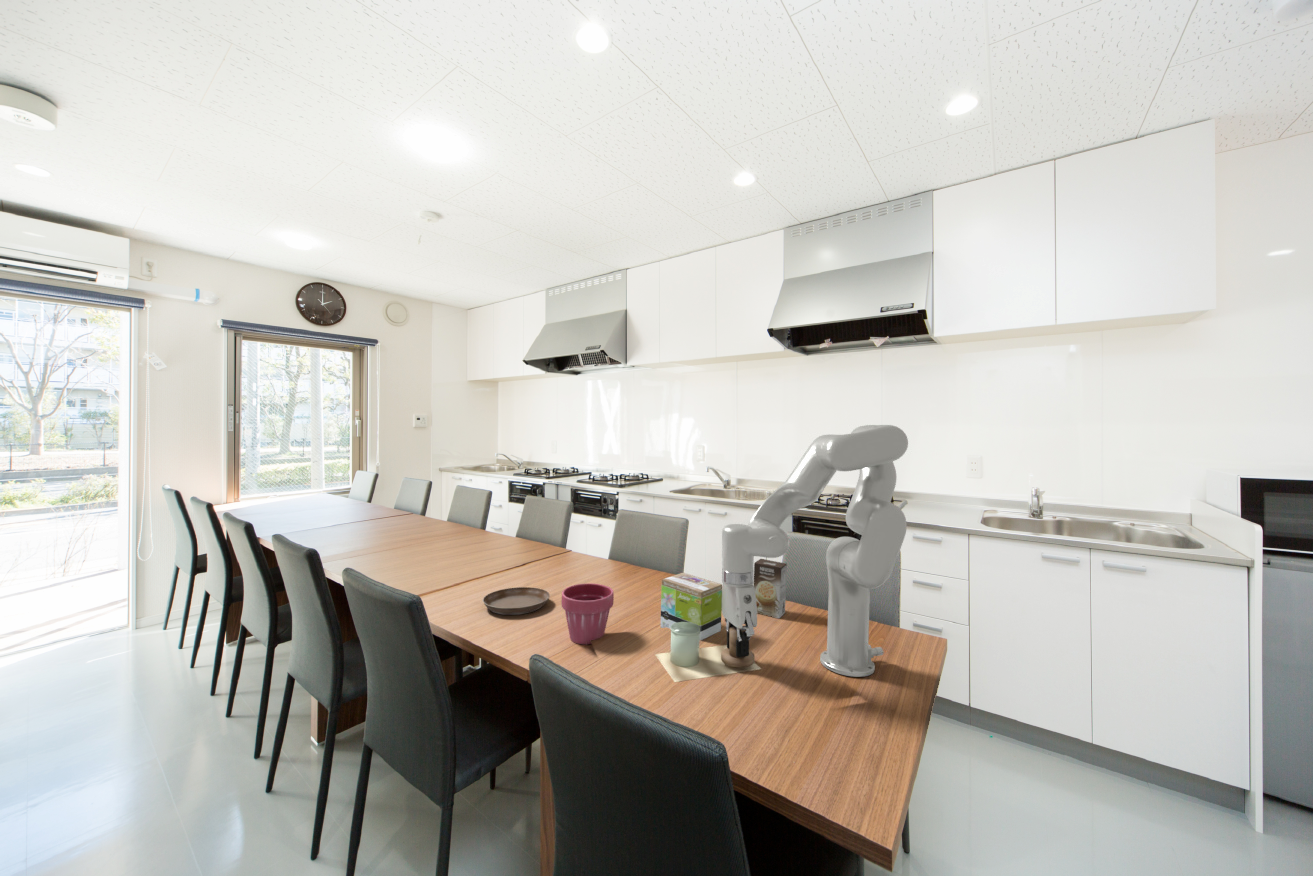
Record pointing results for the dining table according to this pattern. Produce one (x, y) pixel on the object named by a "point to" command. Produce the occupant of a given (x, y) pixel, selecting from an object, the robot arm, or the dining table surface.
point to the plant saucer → (516, 600)
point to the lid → (730, 654)
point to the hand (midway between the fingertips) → (737, 651)
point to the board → (702, 665)
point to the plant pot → (587, 610)
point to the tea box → (691, 603)
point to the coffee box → (770, 587)
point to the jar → (685, 644)
